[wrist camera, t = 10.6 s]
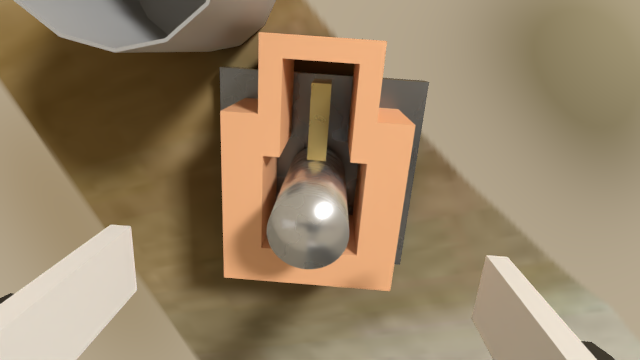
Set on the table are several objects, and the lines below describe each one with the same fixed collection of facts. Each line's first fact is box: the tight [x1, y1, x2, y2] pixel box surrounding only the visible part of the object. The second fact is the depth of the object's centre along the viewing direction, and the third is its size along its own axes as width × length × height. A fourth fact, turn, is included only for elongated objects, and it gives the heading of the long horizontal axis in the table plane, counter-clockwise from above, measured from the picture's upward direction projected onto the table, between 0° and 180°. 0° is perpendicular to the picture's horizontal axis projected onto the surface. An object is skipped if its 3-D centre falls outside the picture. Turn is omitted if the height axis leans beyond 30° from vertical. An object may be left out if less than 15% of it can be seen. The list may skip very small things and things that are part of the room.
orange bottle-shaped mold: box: [220, 32, 416, 291], centre depth 20 cm, size 12×9×5 cm
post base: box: [220, 66, 429, 269], centre depth 20 cm, size 12×12×9 cm
